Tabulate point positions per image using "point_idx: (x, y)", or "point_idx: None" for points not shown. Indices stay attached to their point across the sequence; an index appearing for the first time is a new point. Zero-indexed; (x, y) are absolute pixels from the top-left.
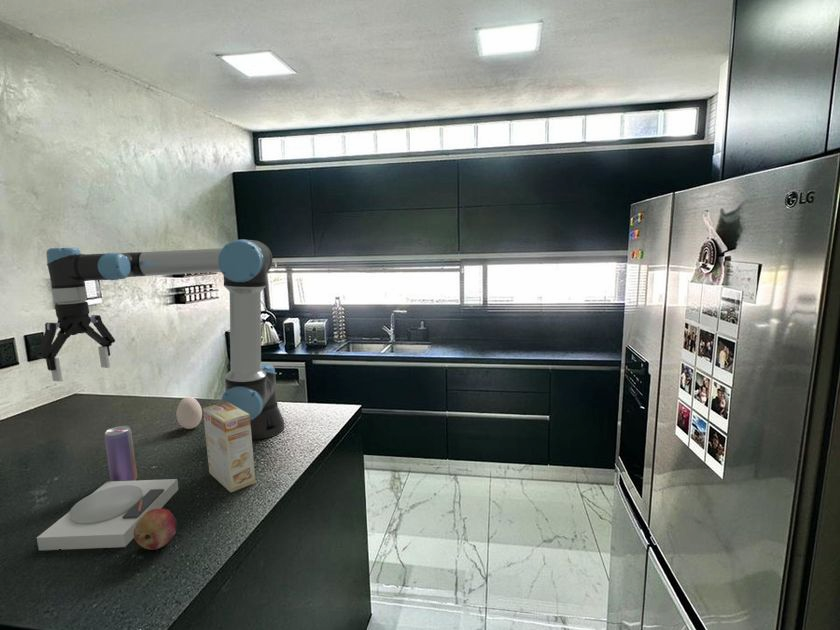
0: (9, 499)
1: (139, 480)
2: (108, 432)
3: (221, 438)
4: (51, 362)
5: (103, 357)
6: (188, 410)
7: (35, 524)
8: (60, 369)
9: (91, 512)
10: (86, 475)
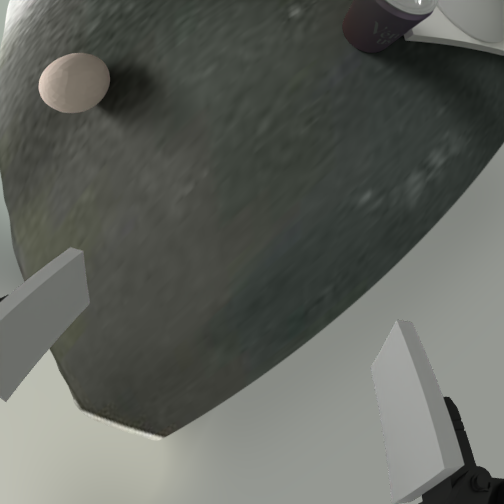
0: (434, 222)
1: None
2: (424, 3)
3: None
4: (463, 449)
5: (40, 315)
6: (82, 60)
7: (492, 108)
8: (420, 380)
9: (497, 6)
10: (351, 137)
